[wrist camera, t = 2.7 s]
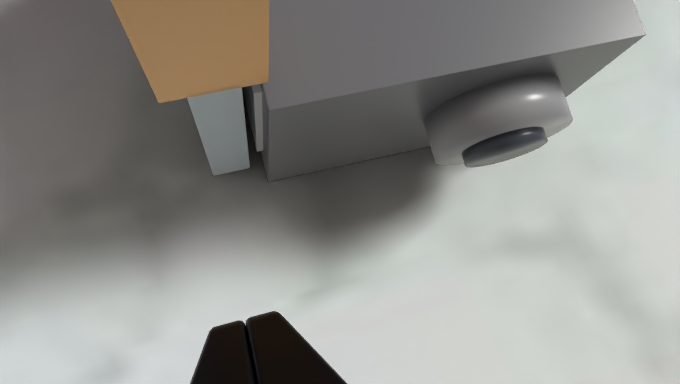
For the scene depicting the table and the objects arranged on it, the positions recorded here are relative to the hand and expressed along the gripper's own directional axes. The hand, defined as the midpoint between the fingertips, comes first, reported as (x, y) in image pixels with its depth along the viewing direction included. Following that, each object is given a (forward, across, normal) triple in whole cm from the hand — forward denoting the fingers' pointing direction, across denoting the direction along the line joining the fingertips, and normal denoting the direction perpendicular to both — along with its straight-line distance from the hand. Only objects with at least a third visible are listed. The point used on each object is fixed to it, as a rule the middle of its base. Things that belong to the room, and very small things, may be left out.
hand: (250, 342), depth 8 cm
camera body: (+16, -6, +2) cm, 17 cm away
